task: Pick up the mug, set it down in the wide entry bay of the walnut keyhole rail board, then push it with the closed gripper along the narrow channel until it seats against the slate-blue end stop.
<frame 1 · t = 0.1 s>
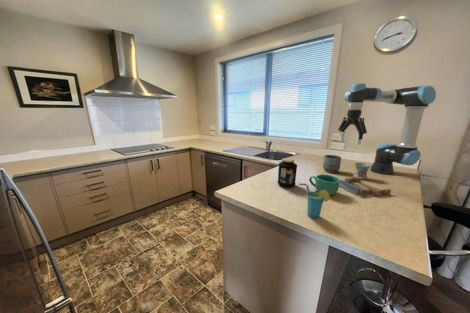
hand: (349, 142, 121), 28 cm above the worktop, fingers open, 13 cm apart
container: (286, 185, 122), on the worktop
mug: (359, 177, 136), on the worktop
mug 2: (322, 191, 112), on the worktop
planter: (330, 171, 150), on the worktop
cup: (311, 215, 86), on the worktop
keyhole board: (359, 188, 116), on the worktop
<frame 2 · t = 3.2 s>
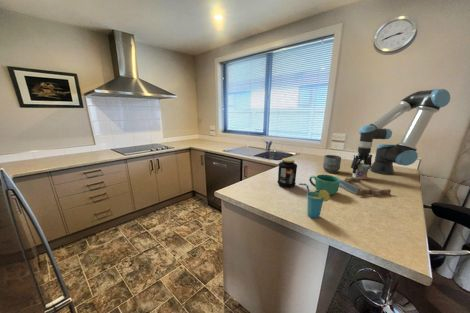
hand: (359, 176, 136), 1 cm above the worktop, fingers closed on mug, 8 cm apart
mug: (359, 177, 136), on the worktop, touching gripper
everything else where it was.
when the fingers open (3 cm above the worktop, at t = 8.9 s): mug drops 1 cm, resting on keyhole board.
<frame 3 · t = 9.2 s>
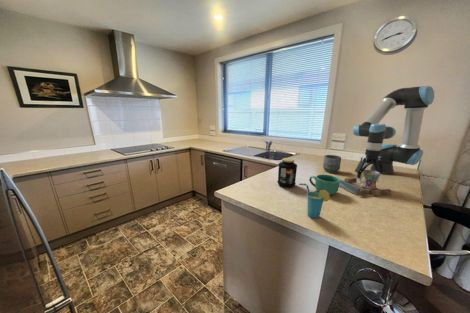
hand: (367, 182, 117), 4 cm above the worktop, fingers open, 12 cm apart
mug: (367, 187, 118), resting on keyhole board
everything else where it was.
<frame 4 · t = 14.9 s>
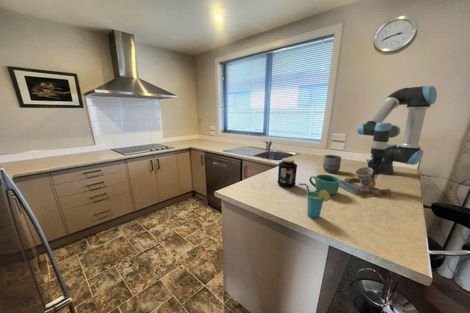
hand: (372, 183, 118), 3 cm above the worktop, fingers closed
mug: (367, 184, 117), point 3 cm above the worktop, touching gripper, hand, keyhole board
everything else where it was.
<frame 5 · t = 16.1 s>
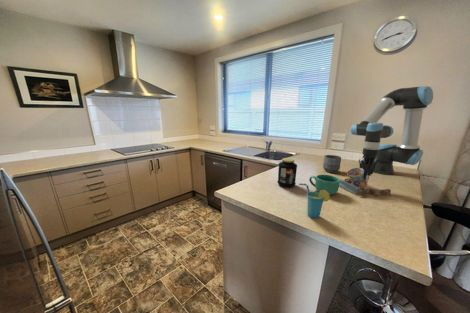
hand: (364, 184, 116), 3 cm above the worktop, fingers closed
mug: (358, 184, 116), point 3 cm above the worktop, touching gripper, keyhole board
everything else where it was.
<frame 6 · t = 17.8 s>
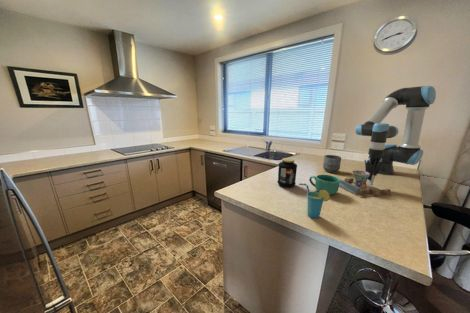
hand: (369, 184, 118), 2 cm above the worktop, fingers closed
mug: (357, 188, 116), resting on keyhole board
everything else where it was.
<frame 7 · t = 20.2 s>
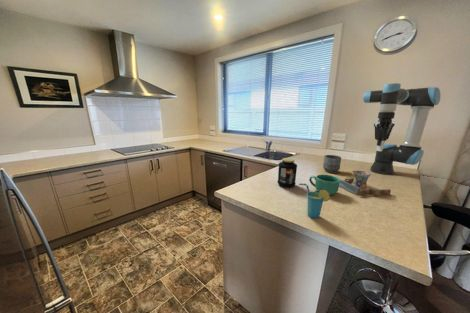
hand: (379, 150, 113), 24 cm above the worktop, fingers closed
nothing on the worktop moved.
at the end: mug inside the target area (3.2 cm from its centre), resting on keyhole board; mug tilted 0°; the gripper is holding nothing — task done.
